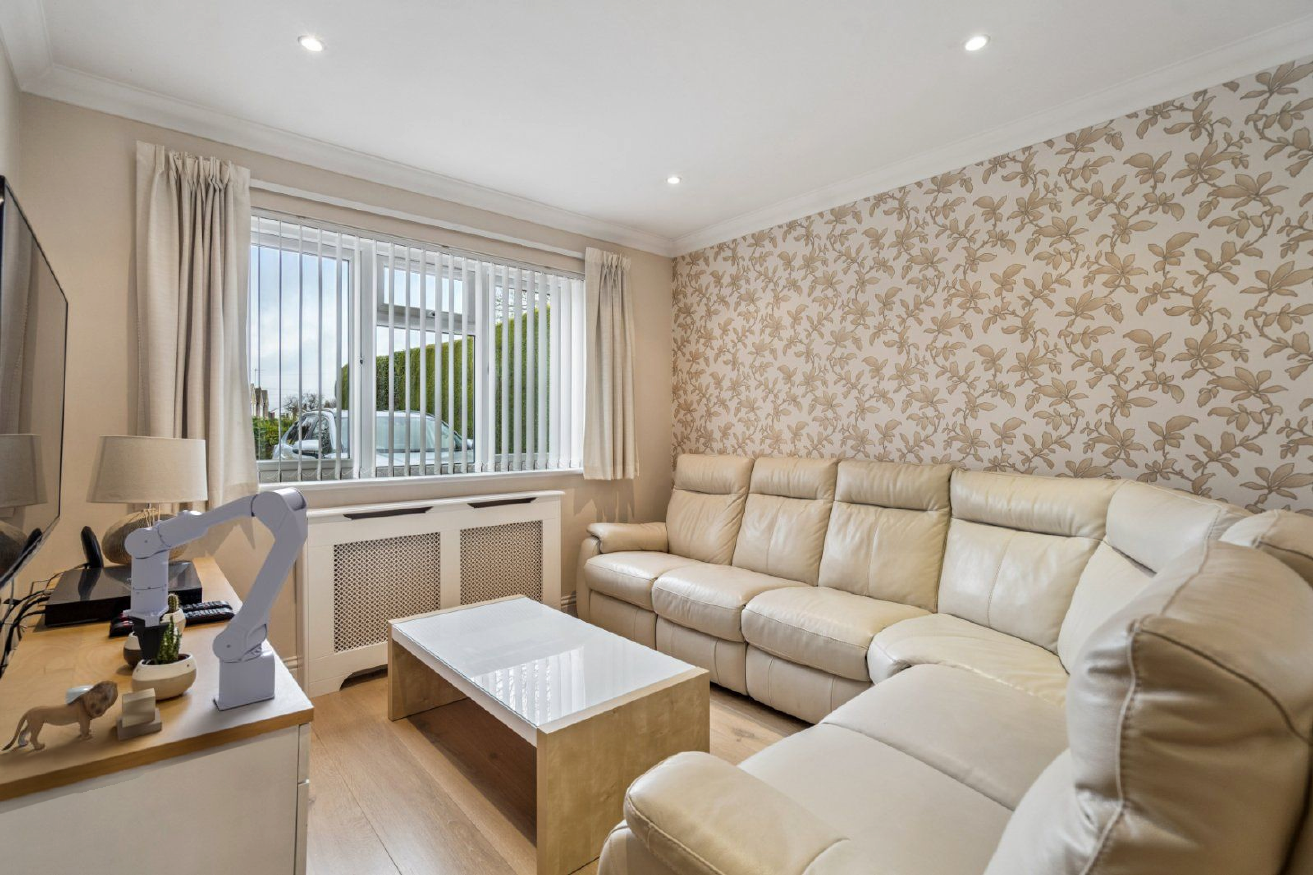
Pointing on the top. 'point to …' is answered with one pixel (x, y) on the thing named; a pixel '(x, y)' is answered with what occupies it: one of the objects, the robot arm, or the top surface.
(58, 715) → the lion figurine
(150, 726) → the plinth
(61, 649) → the top surface
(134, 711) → the oak block
